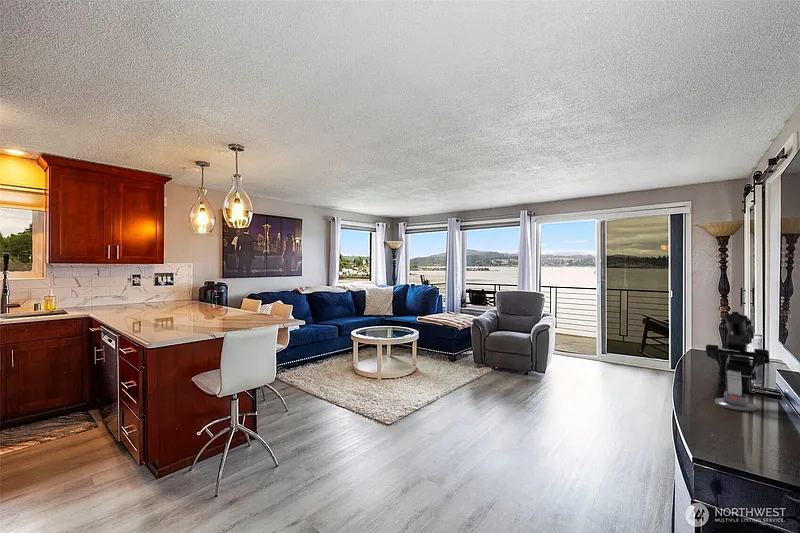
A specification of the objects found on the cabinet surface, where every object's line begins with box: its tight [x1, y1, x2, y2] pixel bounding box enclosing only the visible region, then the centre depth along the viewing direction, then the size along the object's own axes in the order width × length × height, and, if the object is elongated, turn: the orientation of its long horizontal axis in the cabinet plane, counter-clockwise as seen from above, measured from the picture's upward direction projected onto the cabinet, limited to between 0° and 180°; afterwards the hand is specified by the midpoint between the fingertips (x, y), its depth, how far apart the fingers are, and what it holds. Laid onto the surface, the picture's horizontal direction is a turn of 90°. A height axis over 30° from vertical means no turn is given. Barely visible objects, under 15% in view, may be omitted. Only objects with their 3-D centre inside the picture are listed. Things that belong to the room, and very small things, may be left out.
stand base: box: [714, 390, 759, 413], centre depth 138 cm, size 12×12×4 cm
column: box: [726, 370, 742, 397], centre depth 138 cm, size 4×4×12 cm
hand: (735, 370), depth 143 cm, fingers open, 9 cm apart
